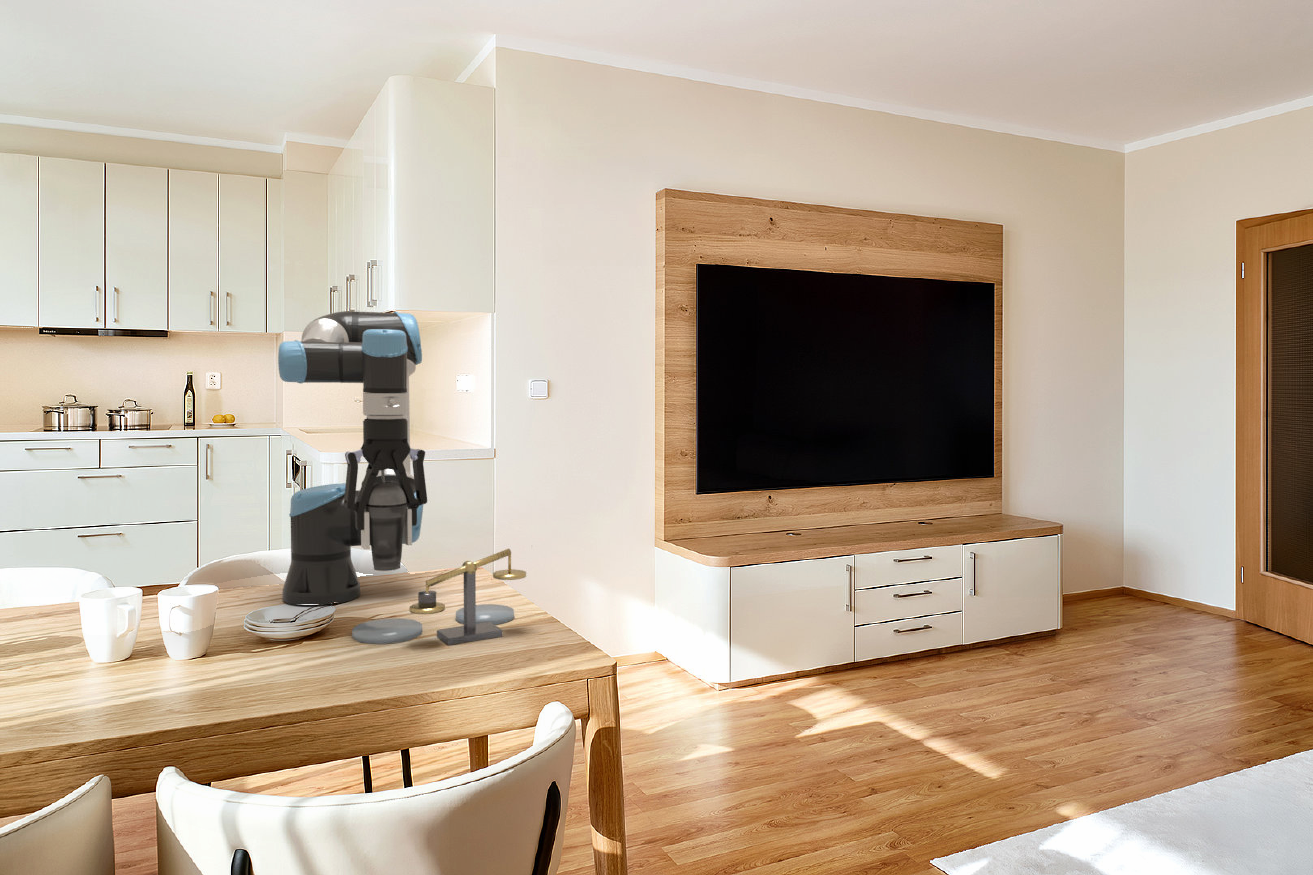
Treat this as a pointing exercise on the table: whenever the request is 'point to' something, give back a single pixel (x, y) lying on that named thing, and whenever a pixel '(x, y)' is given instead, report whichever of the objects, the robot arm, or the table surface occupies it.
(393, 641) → the grey flat disc
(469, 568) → the balance
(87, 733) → the table surface
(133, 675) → the table surface
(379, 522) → the beverage cup
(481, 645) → the table surface
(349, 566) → the robot arm
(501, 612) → the dish light side
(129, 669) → the table surface
